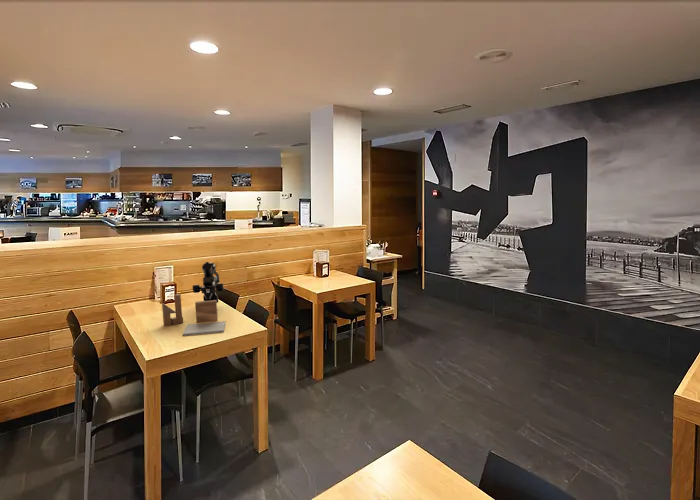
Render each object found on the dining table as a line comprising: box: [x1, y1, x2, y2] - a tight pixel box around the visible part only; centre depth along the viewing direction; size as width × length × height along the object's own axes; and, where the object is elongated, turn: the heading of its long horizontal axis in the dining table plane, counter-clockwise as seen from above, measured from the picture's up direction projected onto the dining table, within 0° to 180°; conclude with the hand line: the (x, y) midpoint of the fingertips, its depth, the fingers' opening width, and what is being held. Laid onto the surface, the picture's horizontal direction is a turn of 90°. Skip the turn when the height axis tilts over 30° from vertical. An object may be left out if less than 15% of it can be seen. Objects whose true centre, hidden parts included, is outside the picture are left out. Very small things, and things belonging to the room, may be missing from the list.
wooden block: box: [161, 293, 184, 327], centre depth 245 cm, size 4×11×18 cm, turn 127°
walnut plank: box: [194, 300, 219, 323], centre depth 245 cm, size 3×12×14 cm, turn 104°
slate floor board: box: [182, 320, 227, 337], centre depth 236 cm, size 18×22×1 cm
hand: (207, 299), depth 255 cm, fingers closed
